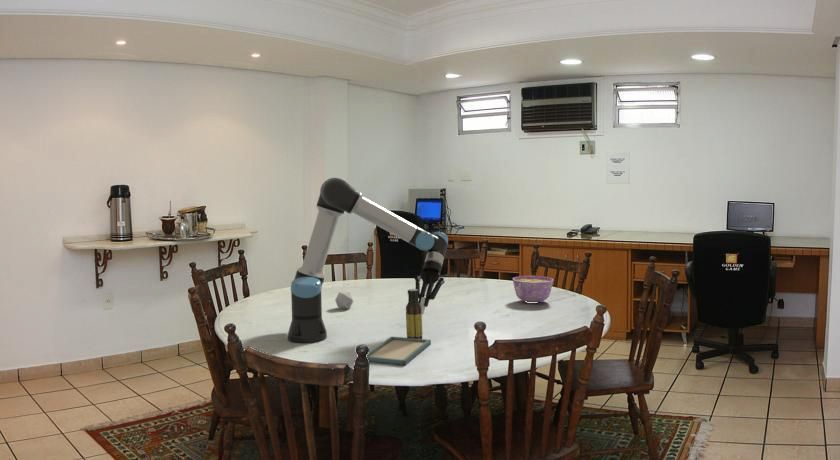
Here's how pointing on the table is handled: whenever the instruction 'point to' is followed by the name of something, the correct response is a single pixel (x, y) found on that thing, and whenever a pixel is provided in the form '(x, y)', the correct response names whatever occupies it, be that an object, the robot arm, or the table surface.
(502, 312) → the table surface
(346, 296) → the die
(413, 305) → the sauce bottle
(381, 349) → the teal tray
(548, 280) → the bowl of food
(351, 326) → the table surface
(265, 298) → the table surface
